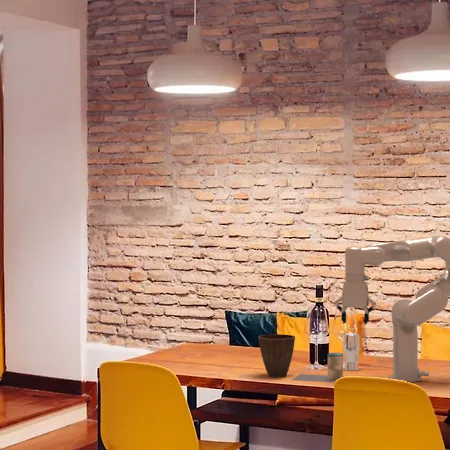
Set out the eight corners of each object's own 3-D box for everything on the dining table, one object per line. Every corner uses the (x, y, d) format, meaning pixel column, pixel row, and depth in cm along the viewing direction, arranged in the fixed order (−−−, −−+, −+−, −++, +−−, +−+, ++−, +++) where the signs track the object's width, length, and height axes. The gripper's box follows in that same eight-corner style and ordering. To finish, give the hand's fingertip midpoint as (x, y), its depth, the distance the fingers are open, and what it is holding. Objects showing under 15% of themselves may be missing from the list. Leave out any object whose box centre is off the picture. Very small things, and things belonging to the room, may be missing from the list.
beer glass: (346, 371, 409) (346, 335, 409) (341, 368, 416) (340, 333, 416) (362, 370, 411) (362, 334, 410) (356, 367, 418) (356, 332, 417)
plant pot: (251, 376, 398) (251, 337, 398) (270, 371, 410) (270, 333, 410) (283, 380, 390) (283, 339, 389) (302, 374, 402) (301, 335, 402)
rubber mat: (353, 378, 393) (353, 376, 393) (346, 384, 380) (346, 382, 380) (300, 375, 400) (300, 374, 400) (291, 381, 387) (291, 380, 387)
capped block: (342, 378, 390) (342, 353, 390) (340, 380, 385) (340, 354, 385) (330, 377, 391) (330, 352, 391) (327, 379, 387) (327, 354, 387)
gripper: (378, 278, 386) (379, 322, 386) (335, 277, 391) (335, 321, 392) (375, 279, 379) (375, 325, 379) (331, 278, 384) (331, 323, 385)
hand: (355, 323), depth 385 cm, fingers open, 7 cm apart
